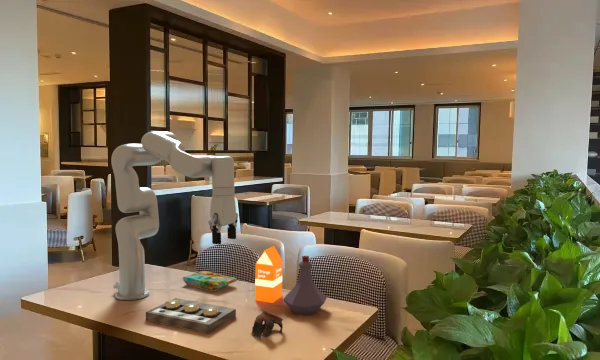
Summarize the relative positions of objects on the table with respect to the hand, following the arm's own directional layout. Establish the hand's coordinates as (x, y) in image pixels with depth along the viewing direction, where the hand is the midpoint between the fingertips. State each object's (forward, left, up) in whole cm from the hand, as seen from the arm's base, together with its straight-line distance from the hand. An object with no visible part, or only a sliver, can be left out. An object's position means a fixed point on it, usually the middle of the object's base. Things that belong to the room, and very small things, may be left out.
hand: (224, 241), depth 162 cm
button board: (-9, -7, -27) cm, 29 cm away
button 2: (-1, -7, -25) cm, 25 cm away
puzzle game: (-25, +28, -27) cm, 46 cm away
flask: (+23, +18, -27) cm, 40 cm away
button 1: (-17, -7, -25) cm, 31 cm away
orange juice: (+5, +24, -27) cm, 37 cm away
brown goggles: (+20, -7, -27) cm, 35 cm away
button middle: (-9, -7, -25) cm, 27 cm away
